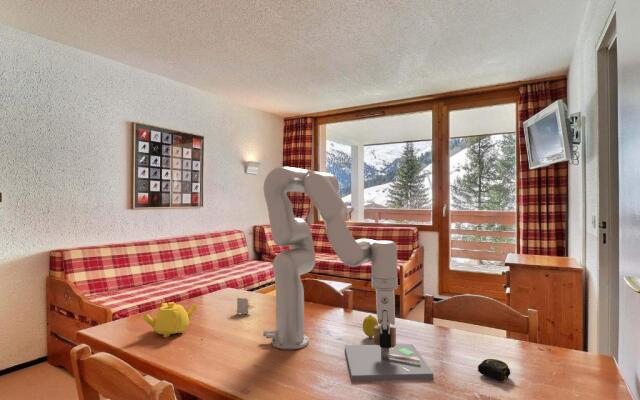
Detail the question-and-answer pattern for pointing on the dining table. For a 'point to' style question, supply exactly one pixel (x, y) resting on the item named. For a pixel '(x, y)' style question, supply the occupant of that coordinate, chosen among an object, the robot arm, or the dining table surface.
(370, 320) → the lemon
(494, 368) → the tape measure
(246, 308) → the architectural model
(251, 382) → the dining table surface
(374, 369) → the board
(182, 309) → the teapot
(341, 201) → the robot arm
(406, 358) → the wooden block with handle
